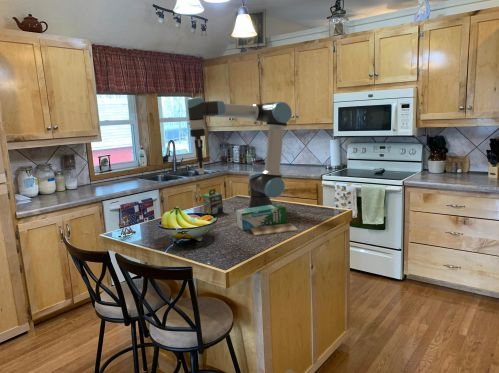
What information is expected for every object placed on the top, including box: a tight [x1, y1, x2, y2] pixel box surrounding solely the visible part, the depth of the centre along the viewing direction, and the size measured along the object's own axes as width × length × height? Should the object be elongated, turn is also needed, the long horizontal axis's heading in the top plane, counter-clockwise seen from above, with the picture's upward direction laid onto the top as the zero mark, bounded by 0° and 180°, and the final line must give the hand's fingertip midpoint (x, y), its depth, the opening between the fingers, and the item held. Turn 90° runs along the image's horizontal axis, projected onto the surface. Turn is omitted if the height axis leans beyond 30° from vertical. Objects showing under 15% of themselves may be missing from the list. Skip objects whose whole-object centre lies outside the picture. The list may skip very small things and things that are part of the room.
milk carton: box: [235, 203, 288, 231], centre depth 208 cm, size 9×9×25 cm
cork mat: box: [250, 222, 299, 237], centre depth 199 cm, size 22×12×1 cm, turn 100°
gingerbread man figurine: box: [118, 212, 137, 235], centre depth 206 cm, size 9×4×12 cm, turn 143°
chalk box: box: [202, 188, 224, 216], centre depth 240 cm, size 9×9×15 cm
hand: (201, 173), depth 205 cm, fingers closed
